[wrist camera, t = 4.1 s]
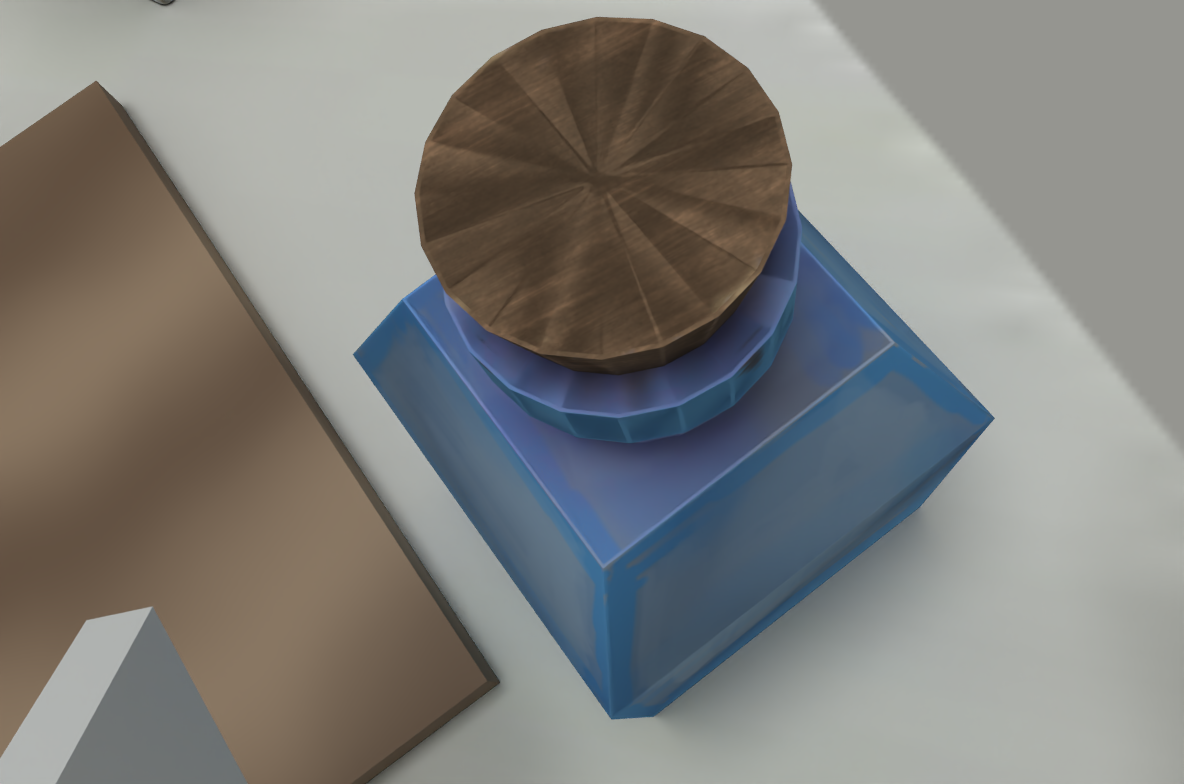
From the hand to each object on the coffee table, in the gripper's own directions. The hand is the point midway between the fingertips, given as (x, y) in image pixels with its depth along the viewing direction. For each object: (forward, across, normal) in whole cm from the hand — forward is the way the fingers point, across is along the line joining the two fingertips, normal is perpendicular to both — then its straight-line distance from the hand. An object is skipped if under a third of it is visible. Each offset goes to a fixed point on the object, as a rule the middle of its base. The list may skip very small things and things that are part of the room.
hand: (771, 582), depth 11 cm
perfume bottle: (+8, -1, -4) cm, 9 cm away
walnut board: (+9, -15, -3) cm, 17 cm away
